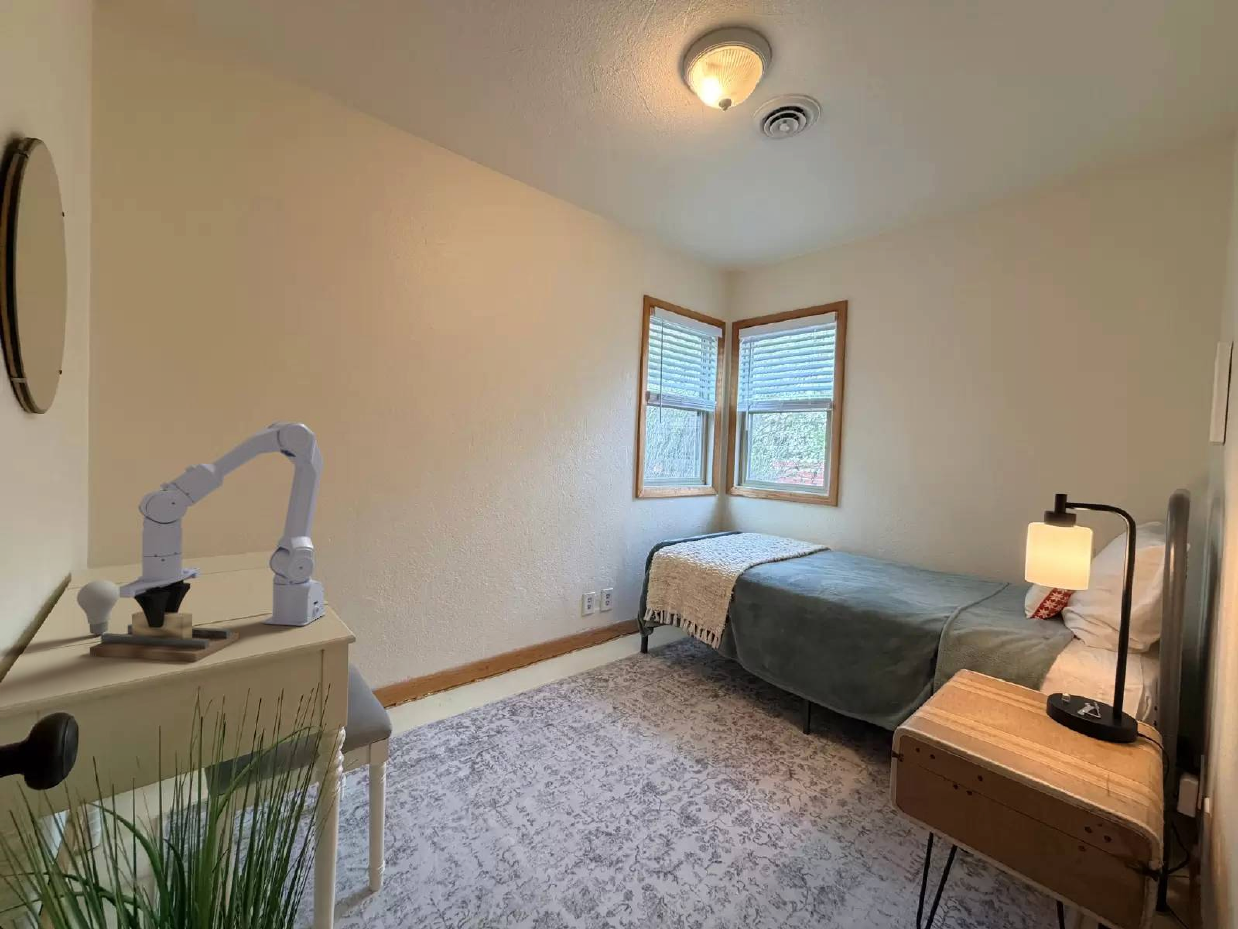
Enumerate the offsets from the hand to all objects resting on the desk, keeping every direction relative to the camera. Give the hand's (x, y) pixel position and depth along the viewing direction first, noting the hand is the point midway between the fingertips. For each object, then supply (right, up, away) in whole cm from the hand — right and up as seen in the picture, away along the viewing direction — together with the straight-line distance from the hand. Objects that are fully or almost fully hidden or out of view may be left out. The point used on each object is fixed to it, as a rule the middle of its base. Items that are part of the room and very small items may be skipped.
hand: (162, 624), depth 99 cm
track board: (+1, -5, 0) cm, 5 cm away
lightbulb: (-17, -4, +5) cm, 18 cm away
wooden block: (0, -3, 0) cm, 3 cm away
